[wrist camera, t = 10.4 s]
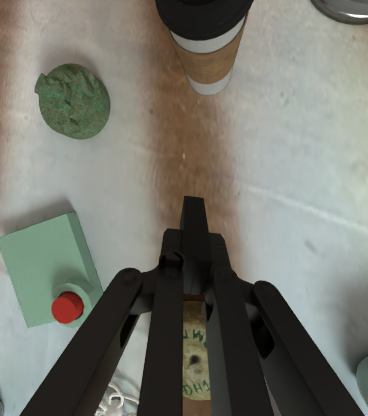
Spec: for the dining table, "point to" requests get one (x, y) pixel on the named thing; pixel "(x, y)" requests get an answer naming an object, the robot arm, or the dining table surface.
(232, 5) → the coffee cup
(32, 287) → the green button base
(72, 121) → the decorative artifact
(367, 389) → the cup
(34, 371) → the dining table surface
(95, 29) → the dining table surface
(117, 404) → the tangled rod sculpture
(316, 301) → the dining table surface
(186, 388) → the weight
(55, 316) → the red push button
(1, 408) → the teacup
